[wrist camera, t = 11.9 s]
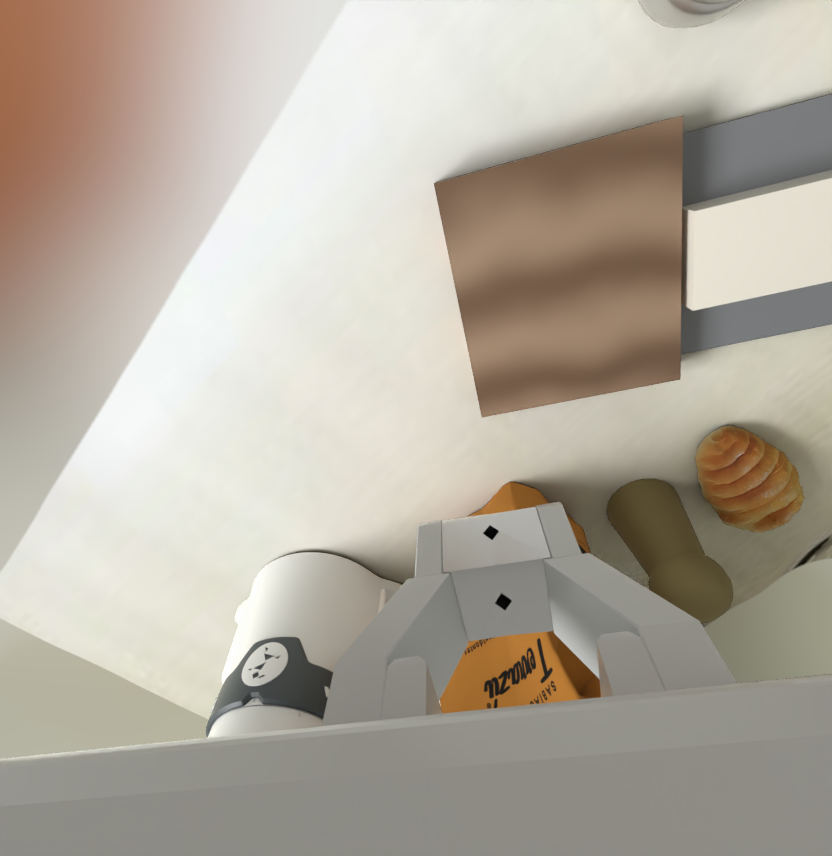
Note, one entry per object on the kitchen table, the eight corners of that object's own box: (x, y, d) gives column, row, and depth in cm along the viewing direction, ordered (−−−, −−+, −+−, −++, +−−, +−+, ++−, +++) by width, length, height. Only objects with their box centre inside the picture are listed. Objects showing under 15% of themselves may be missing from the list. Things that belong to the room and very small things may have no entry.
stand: (665, 366, 36) (680, 379, 34) (479, 402, 38) (481, 417, 36) (664, 119, 29) (682, 115, 26) (434, 182, 31) (434, 184, 29)
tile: (821, 269, 32) (849, 277, 29) (676, 301, 33) (693, 310, 31) (835, 168, 29) (868, 168, 27) (677, 207, 30) (695, 211, 28)
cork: (680, 473, 40) (754, 570, 31) (677, 529, 43) (744, 634, 33) (605, 483, 41) (655, 581, 32) (607, 537, 44) (653, 642, 34)
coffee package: (595, 522, 43) (717, 811, 24) (501, 597, 48) (539, 884, 29) (513, 463, 41) (574, 732, 21) (423, 548, 46) (407, 828, 26)
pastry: (666, 452, 40) (687, 478, 36) (746, 402, 37) (776, 426, 34) (721, 520, 43) (745, 550, 39) (798, 478, 40) (831, 506, 37)
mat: (879, 311, 33) (886, 313, 33) (673, 352, 35) (676, 355, 35) (929, 67, 27) (938, 65, 26) (673, 136, 29) (677, 135, 28)
